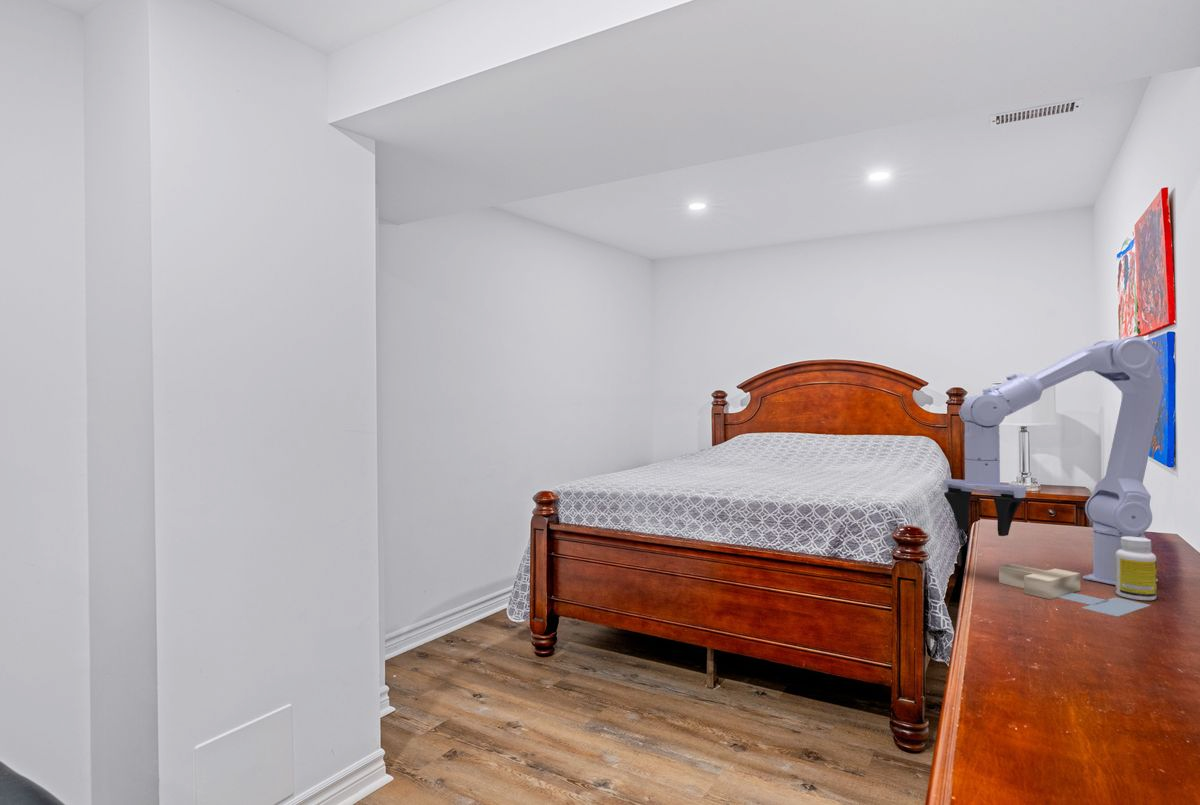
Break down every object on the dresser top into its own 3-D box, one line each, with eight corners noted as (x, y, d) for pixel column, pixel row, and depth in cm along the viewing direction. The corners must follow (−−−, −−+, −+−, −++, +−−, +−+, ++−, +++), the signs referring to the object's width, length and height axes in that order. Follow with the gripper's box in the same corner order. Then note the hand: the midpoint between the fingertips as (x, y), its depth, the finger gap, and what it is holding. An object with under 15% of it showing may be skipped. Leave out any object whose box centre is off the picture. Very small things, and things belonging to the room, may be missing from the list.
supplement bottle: (1164, 602, 109) (1164, 542, 109) (1126, 600, 111) (1126, 541, 111) (1144, 592, 115) (1144, 535, 115) (1108, 591, 116) (1108, 534, 116)
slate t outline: (1075, 590, 118) (1075, 588, 118) (1151, 606, 108) (1151, 605, 108) (1041, 600, 112) (1041, 598, 112) (1117, 618, 103) (1117, 616, 103)
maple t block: (1020, 577, 125) (1020, 561, 125) (1080, 590, 116) (1080, 573, 116) (989, 585, 120) (989, 568, 120) (1049, 599, 112) (1048, 581, 112)
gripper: (932, 457, 129) (933, 527, 130) (1009, 463, 117) (1010, 541, 117) (954, 455, 133) (955, 524, 133) (1031, 461, 120) (1032, 536, 120)
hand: (982, 531), depth 125 cm, fingers open, 7 cm apart
